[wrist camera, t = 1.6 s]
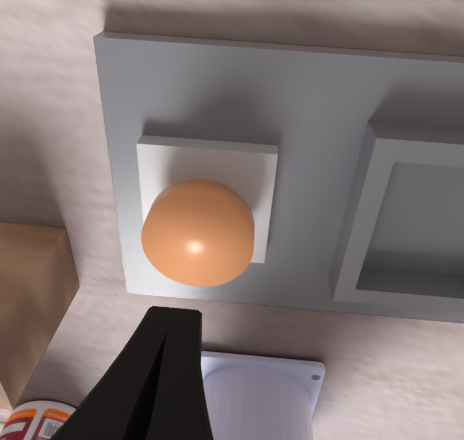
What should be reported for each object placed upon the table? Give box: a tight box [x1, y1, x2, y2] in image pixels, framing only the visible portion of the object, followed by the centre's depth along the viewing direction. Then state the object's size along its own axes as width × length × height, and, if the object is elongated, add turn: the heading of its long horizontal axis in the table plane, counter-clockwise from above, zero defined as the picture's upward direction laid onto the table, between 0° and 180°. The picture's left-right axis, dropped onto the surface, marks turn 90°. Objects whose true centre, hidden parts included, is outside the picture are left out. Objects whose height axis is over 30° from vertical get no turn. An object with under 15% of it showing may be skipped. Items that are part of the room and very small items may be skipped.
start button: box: [141, 179, 255, 287], centre depth 15 cm, size 4×4×1 cm
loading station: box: [93, 31, 464, 323], centre depth 17 cm, size 12×18×2 cm, turn 87°
